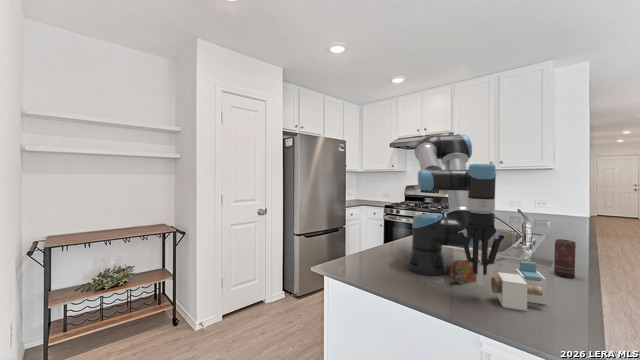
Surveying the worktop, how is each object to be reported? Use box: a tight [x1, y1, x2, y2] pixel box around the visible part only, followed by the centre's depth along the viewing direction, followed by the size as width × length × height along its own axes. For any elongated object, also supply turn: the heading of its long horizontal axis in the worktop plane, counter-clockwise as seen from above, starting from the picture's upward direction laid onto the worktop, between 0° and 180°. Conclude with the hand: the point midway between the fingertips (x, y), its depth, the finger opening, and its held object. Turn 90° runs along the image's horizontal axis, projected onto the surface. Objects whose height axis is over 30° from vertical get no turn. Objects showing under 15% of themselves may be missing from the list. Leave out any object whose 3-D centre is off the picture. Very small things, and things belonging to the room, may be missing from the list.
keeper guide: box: [514, 268, 547, 305], centre depth 89 cm, size 6×7×8 cm
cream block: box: [496, 271, 528, 312], centre depth 86 cm, size 6×8×8 cm
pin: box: [490, 276, 543, 296], centre depth 85 cm, size 13×5×5 cm, turn 68°
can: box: [553, 238, 577, 279], centre depth 109 cm, size 6×6×14 cm
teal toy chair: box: [518, 260, 542, 281], centre depth 89 cm, size 4×7×4 cm, turn 158°
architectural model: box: [480, 247, 498, 266], centre depth 125 cm, size 3×7×7 cm, turn 119°
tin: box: [449, 257, 482, 285], centre depth 104 cm, size 15×3×8 cm, turn 114°
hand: (479, 283), depth 90 cm, fingers closed
